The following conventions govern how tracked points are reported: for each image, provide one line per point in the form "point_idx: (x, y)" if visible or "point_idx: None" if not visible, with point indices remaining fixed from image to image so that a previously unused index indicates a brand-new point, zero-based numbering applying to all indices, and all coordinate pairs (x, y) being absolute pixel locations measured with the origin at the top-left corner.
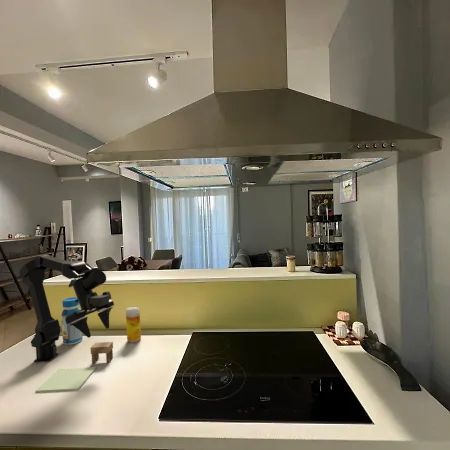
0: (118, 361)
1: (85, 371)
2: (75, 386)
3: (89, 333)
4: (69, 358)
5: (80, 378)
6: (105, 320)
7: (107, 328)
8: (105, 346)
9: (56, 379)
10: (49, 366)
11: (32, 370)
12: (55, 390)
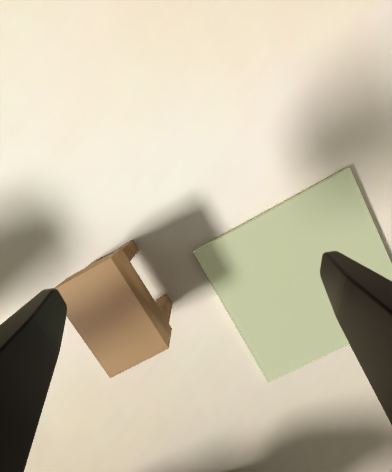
0: (101, 210)
1: (240, 262)
2: (343, 194)
3: (356, 269)
4: (180, 428)
5: (290, 230)
6: (5, 388)
7: (62, 298)
8: (117, 278)
9: (329, 315)
10: (258, 437)
11: (302, 463)
12: (383, 248)
